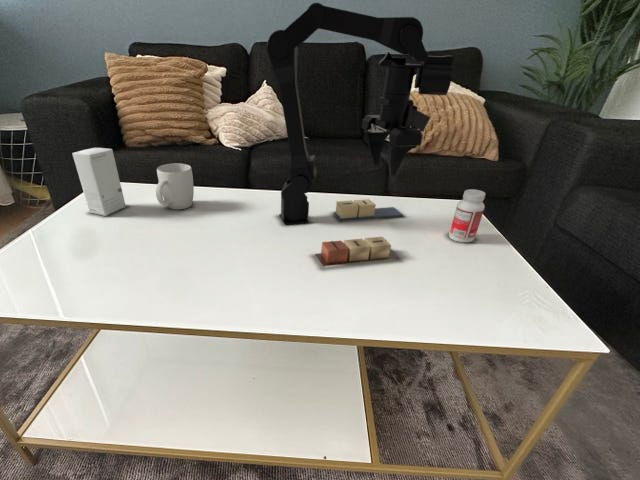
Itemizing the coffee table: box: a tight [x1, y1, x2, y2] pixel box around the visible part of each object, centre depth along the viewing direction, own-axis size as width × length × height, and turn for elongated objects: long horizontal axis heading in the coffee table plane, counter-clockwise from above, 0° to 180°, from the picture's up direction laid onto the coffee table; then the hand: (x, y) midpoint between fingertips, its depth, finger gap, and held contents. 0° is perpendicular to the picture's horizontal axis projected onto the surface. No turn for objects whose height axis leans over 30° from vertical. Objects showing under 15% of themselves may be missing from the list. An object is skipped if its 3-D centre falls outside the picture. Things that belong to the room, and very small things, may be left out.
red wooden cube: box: [320, 240, 348, 264], centre depth 89 cm, size 4×4×3 cm
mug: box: [155, 162, 195, 210], centre depth 110 cm, size 13×9×10 cm
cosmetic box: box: [72, 147, 127, 217], centre depth 106 cm, size 8×6×15 cm
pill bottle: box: [448, 188, 486, 243], centre depth 97 cm, size 6×6×11 cm
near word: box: [314, 236, 400, 267], centre depth 90 cm, size 18×6×4 cm, turn 105°
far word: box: [333, 198, 404, 222], centre depth 110 cm, size 18×6×4 cm, turn 105°
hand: (383, 170), depth 97 cm, fingers open, 9 cm apart
